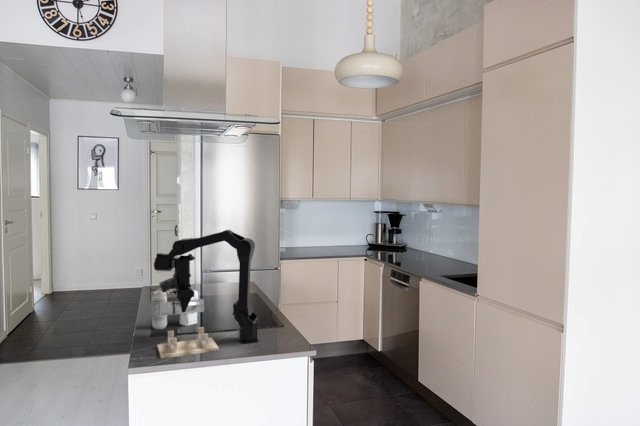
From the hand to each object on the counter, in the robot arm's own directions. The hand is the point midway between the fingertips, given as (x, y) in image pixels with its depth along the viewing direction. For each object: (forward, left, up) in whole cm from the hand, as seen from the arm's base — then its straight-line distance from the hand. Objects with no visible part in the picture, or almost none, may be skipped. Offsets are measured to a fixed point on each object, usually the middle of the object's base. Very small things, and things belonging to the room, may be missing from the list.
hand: (182, 310), depth 178 cm
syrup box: (-5, -17, -11) cm, 21 cm away
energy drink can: (+7, -17, -11) cm, 21 cm away
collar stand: (0, +13, -11) cm, 17 cm away
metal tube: (0, 0, -1) cm, 1 cm away
